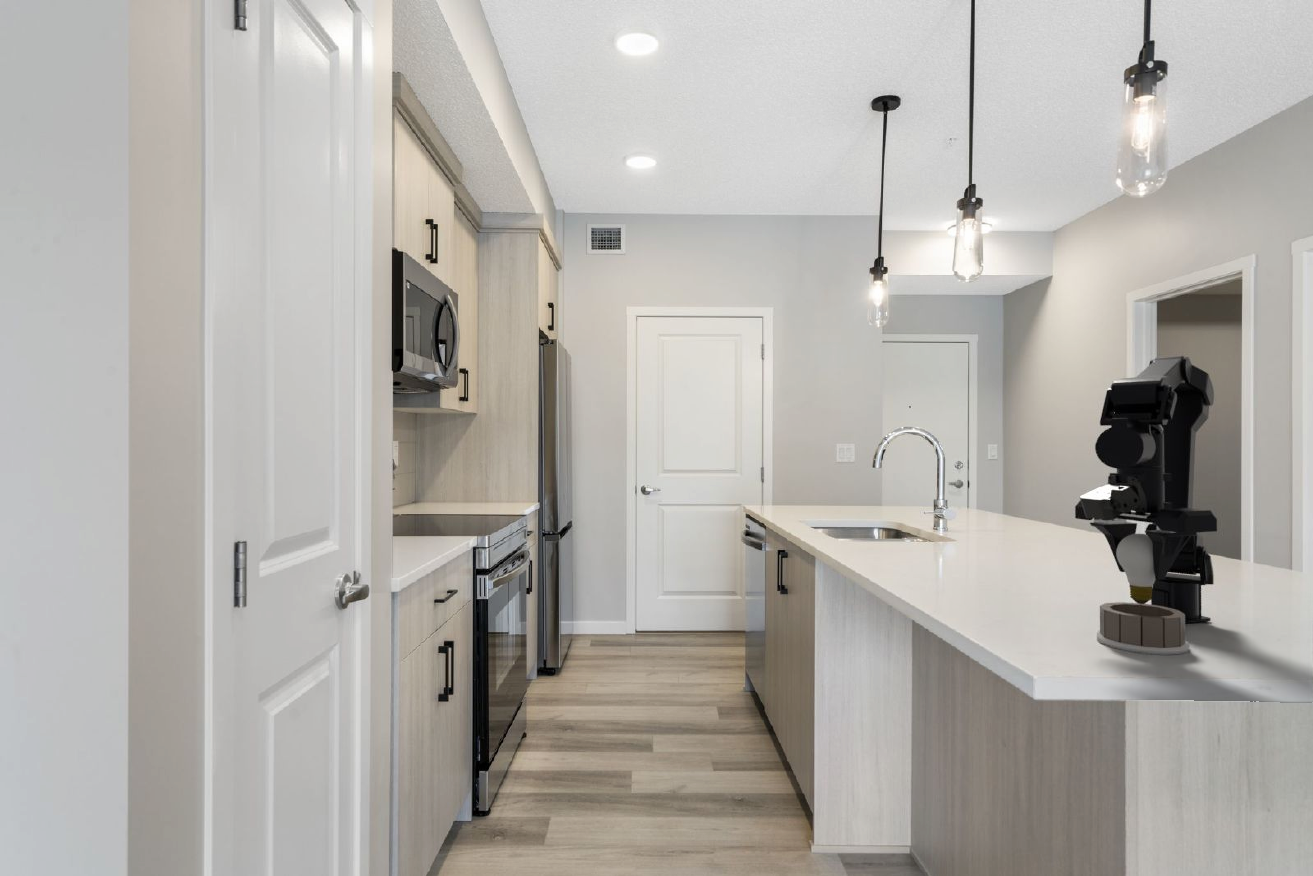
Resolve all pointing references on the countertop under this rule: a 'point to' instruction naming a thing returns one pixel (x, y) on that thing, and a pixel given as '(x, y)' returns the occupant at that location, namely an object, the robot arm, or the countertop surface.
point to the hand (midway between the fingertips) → (1141, 575)
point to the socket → (1142, 628)
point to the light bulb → (1137, 565)
